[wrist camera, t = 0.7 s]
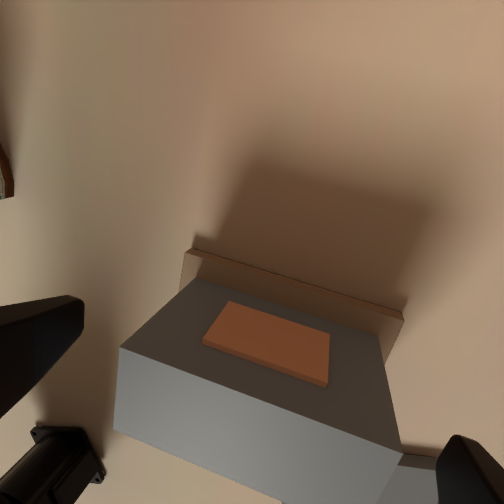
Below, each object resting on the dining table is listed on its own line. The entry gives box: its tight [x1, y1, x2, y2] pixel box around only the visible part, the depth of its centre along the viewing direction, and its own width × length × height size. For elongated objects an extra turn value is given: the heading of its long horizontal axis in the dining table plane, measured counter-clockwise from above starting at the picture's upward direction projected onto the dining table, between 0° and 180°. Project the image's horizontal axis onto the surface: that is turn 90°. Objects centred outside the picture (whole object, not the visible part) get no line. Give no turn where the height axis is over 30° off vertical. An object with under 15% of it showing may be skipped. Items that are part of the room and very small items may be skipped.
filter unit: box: [113, 248, 404, 504], centre depth 18 cm, size 14×8×9 cm, turn 78°
